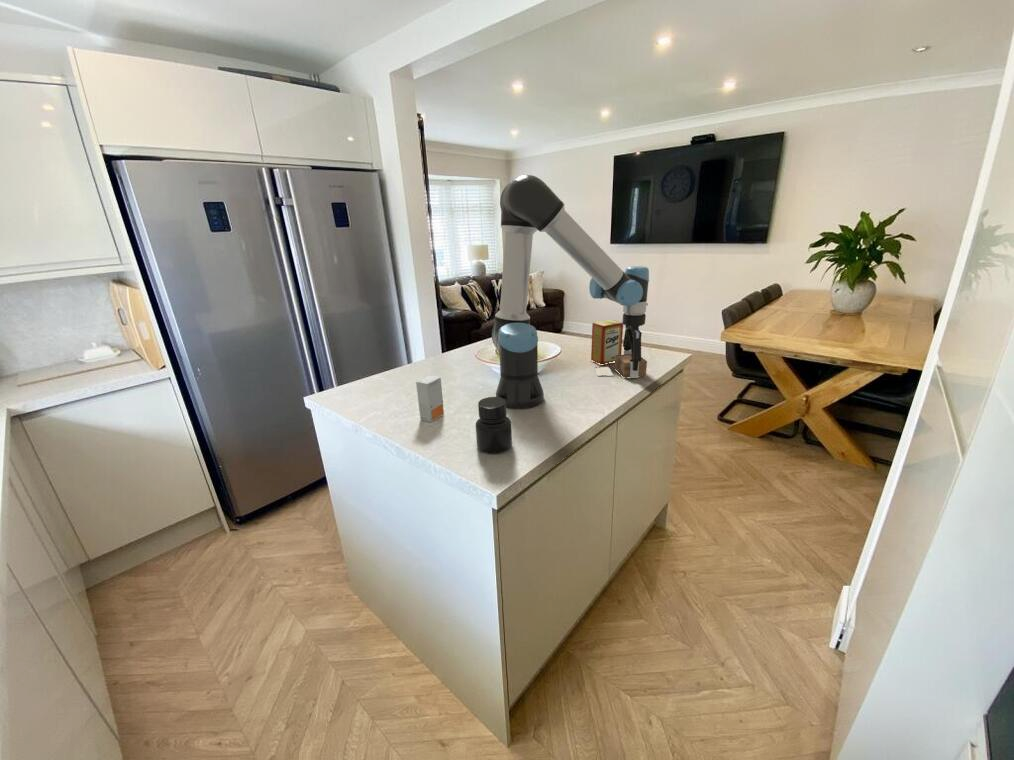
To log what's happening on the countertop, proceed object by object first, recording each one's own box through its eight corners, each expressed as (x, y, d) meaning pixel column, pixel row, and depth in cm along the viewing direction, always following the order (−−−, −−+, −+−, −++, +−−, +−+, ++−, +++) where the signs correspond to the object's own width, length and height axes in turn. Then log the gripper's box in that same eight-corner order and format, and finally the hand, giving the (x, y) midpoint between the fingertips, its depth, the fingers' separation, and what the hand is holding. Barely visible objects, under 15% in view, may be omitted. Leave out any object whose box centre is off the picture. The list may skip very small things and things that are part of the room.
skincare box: (431, 423, 113) (426, 384, 109) (420, 420, 116) (415, 381, 111) (445, 414, 118) (441, 377, 114) (434, 412, 120) (429, 374, 116)
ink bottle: (514, 437, 104) (513, 394, 100) (513, 455, 96) (511, 409, 92) (477, 437, 105) (474, 395, 100) (473, 455, 97) (469, 410, 92)
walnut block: (645, 377, 141) (647, 361, 139) (623, 378, 140) (624, 362, 138) (635, 368, 149) (636, 353, 147) (614, 370, 149) (615, 355, 147)
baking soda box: (601, 365, 154) (603, 325, 148) (591, 361, 159) (592, 321, 154) (620, 361, 157) (623, 321, 152) (610, 357, 163) (612, 318, 157)
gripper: (654, 320, 126) (649, 384, 134) (637, 306, 148) (633, 362, 155) (630, 320, 126) (626, 384, 134) (617, 306, 148) (614, 362, 156)
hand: (630, 372), depth 145 cm, fingers open, 11 cm apart
